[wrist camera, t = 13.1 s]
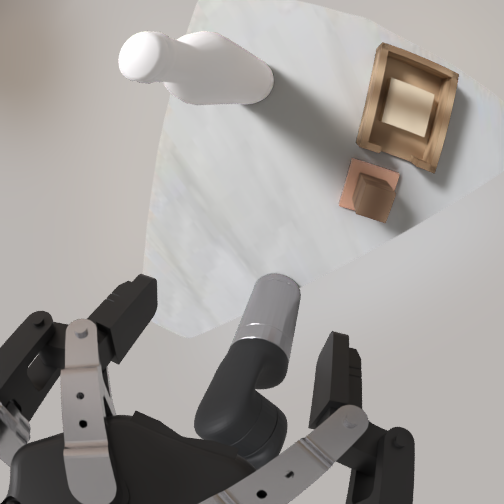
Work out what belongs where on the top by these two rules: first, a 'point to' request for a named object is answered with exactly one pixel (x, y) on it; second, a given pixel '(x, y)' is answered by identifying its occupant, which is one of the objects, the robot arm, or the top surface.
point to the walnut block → (373, 197)
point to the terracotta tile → (365, 168)
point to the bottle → (197, 67)
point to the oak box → (407, 107)
